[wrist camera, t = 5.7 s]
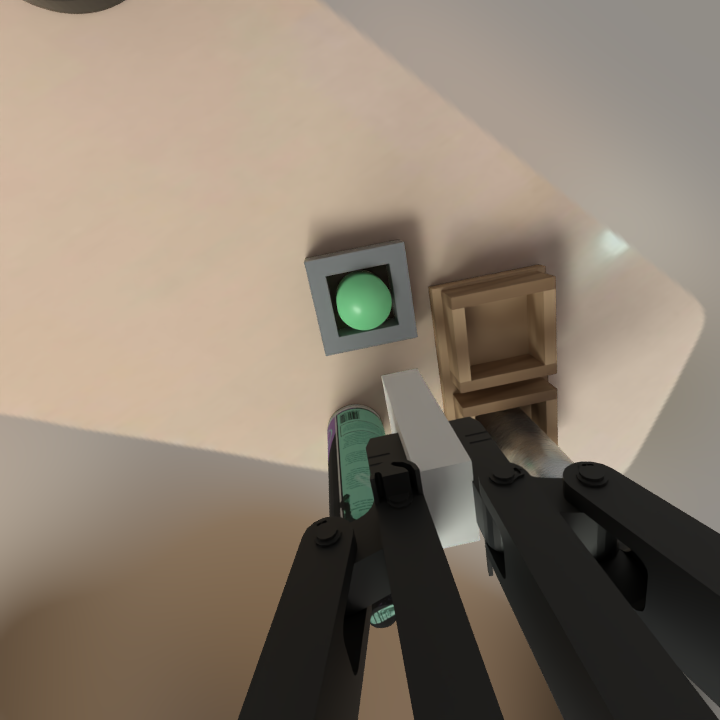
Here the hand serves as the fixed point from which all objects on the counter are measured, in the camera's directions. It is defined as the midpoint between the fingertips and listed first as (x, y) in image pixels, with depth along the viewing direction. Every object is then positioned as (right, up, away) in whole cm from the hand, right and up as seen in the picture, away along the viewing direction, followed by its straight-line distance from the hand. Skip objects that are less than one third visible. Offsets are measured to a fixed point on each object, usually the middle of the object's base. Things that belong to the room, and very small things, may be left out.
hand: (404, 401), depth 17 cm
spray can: (-2, -5, +24) cm, 24 cm away
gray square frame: (-2, +7, +19) cm, 20 cm away
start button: (-2, +7, +19) cm, 20 cm away
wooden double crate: (+11, 0, +23) cm, 25 cm away
